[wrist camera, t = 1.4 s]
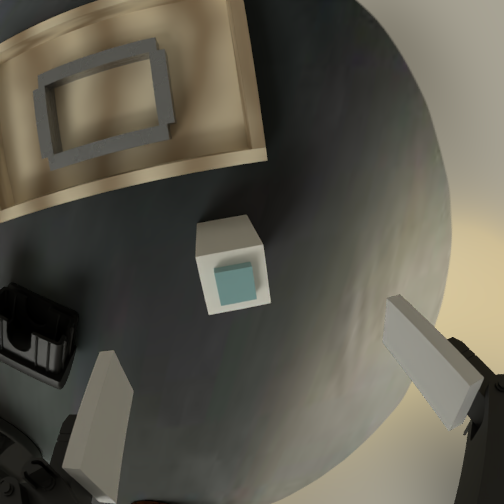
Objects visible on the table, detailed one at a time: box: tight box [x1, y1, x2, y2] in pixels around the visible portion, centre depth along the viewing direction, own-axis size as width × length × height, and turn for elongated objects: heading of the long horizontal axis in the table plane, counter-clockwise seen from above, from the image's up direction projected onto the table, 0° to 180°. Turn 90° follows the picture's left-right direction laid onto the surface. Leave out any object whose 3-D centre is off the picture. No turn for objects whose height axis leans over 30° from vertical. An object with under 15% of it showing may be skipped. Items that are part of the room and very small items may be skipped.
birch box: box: [0, 0, 268, 223], centre depth 21 cm, size 24×16×4 cm, turn 98°
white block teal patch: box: [196, 215, 271, 315], centre depth 24 cm, size 4×4×9 cm
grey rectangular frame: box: [33, 37, 177, 171], centre depth 21 cm, size 11×8×2 cm
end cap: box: [0, 282, 79, 389], centre depth 25 cm, size 10×7×7 cm
